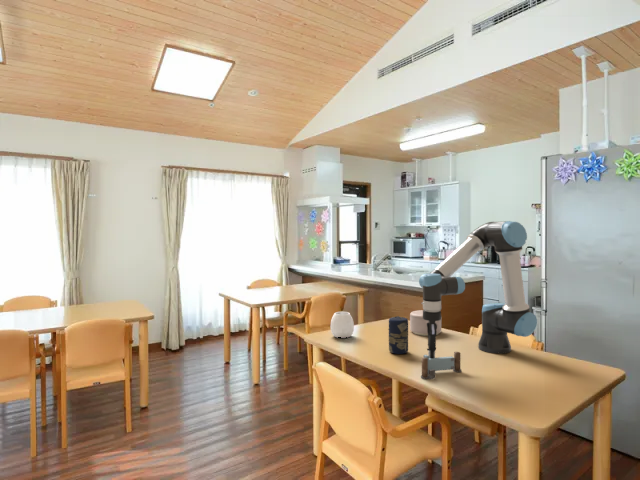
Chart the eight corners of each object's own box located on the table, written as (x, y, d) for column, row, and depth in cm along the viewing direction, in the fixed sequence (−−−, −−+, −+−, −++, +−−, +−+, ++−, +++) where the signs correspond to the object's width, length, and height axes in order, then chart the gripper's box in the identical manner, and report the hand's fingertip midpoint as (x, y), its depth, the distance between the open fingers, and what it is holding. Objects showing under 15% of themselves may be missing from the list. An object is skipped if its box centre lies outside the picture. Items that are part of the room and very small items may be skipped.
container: (413, 336, 232) (413, 316, 231) (407, 328, 250) (407, 309, 249) (445, 336, 231) (445, 316, 231) (437, 328, 249) (437, 309, 249)
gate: (452, 370, 175) (452, 352, 175) (454, 371, 173) (454, 354, 173) (423, 372, 173) (423, 354, 173) (425, 374, 171) (425, 356, 170)
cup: (327, 334, 237) (327, 311, 237) (348, 332, 241) (348, 310, 241) (335, 340, 224) (335, 316, 224) (357, 338, 228) (357, 314, 228)
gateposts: (457, 369, 177) (457, 350, 177) (464, 372, 173) (464, 353, 173) (419, 377, 168) (418, 357, 168) (425, 380, 164) (425, 360, 164)
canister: (393, 356, 196) (393, 318, 196) (385, 350, 205) (385, 314, 205) (411, 354, 199) (411, 317, 198) (402, 348, 208) (402, 313, 207)
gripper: (421, 306, 180) (421, 359, 181) (423, 313, 168) (423, 369, 169) (439, 307, 179) (439, 360, 180) (442, 313, 166) (442, 370, 168)
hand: (431, 364), depth 175 cm, fingers closed
